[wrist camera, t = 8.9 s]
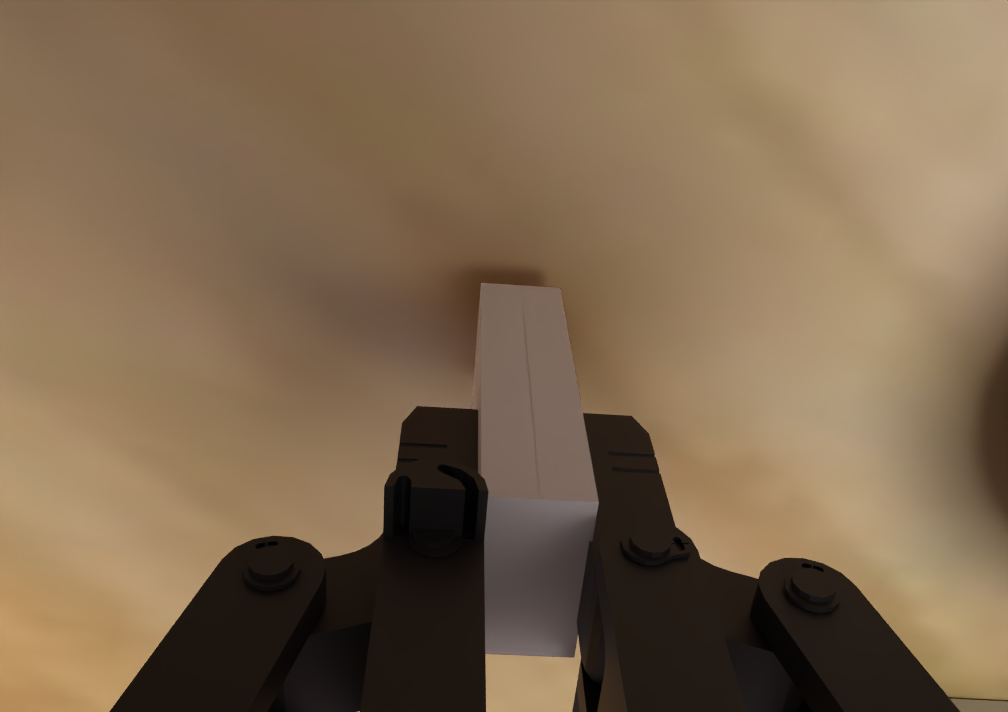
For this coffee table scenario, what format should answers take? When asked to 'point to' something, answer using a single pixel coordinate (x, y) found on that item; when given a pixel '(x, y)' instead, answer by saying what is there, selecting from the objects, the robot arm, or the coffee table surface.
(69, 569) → the coffee table surface
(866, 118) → the coffee table surface
